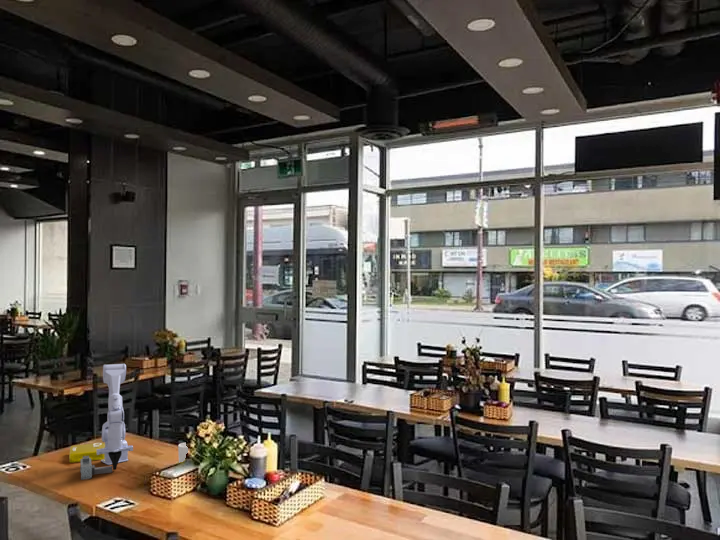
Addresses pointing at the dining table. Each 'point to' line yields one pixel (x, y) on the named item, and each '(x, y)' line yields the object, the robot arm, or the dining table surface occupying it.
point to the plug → (101, 470)
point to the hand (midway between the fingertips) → (114, 469)
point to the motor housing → (86, 468)
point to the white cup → (182, 451)
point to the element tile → (85, 452)
